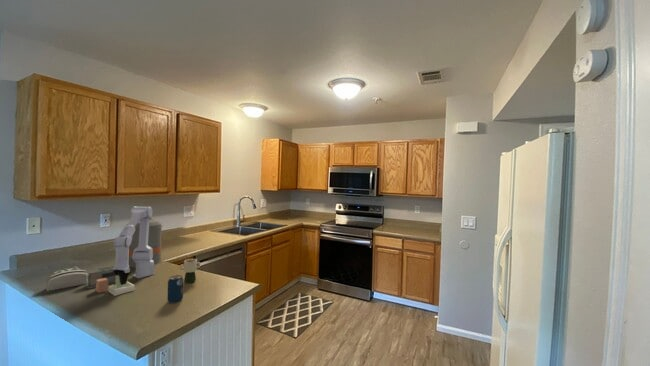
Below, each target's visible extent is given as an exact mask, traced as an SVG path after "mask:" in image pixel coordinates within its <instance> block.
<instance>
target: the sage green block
mask: <svg viewBox="0 0 650 366" xmlns="http://www.w3.org/2000/svg"><path fill="white" fill-rule="evenodd" d="M114 285H115V287H117V288H122V287H126V286H127V282H126V284H123V285H121V283H120V277H119V275H116V282H115V284H114Z"/></svg>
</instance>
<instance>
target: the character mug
mask: <svg viewBox="0 0 650 366" xmlns="http://www.w3.org/2000/svg"><path fill="white" fill-rule="evenodd" d="M179 265H180V266H179V269H180V271H184V273H185V274H184V278H183V283H187V284H190V283H191V284H192V283H193V282H196V281H197V277H196V271H197V269H198V268H201V262H200V261H198V259H197V258H188V259H185V260H183V264H179Z"/></svg>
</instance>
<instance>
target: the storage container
mask: <svg viewBox="0 0 650 366" xmlns="http://www.w3.org/2000/svg"><path fill="white" fill-rule="evenodd" d="M126 225H128V223H127V224H126ZM135 229H136V230H135V232H134V234H133V236H132V241H131V245H130V246H129V264H128V265H129V268H133V269H134V268H135V269H136V263H135V261H133V259H132V255H133V252H134V249H135V248H137V247H138V245H139V230H140V221H139V222H138V223H137V225H136V226H135ZM162 229H163V225H162V222H161V221H160V220H158V219H154V218H152V219H150V220H149V235H148V246H150V247H151V248H152V249H153V258H152V260H153V261H154V266H155V265H157V263H158V264H160V263H161V262H162ZM159 262H160V263H159Z"/></svg>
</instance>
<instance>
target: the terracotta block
mask: <svg viewBox="0 0 650 366" xmlns="http://www.w3.org/2000/svg"><path fill="white" fill-rule="evenodd" d="M108 286H109V283H108V279H106V278H103V279H98V280H96V287H95V291H96V292H97V294H98V293H99V294H100V293H103V292H108Z"/></svg>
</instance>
